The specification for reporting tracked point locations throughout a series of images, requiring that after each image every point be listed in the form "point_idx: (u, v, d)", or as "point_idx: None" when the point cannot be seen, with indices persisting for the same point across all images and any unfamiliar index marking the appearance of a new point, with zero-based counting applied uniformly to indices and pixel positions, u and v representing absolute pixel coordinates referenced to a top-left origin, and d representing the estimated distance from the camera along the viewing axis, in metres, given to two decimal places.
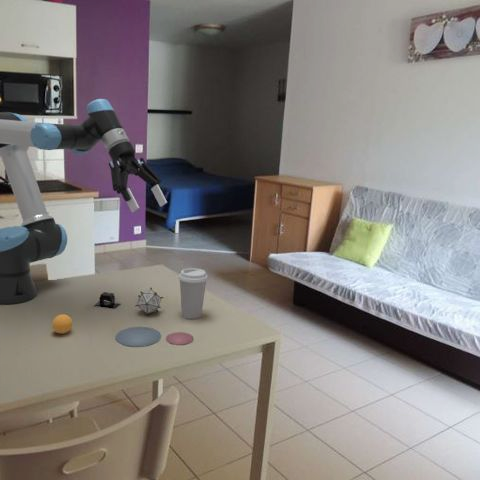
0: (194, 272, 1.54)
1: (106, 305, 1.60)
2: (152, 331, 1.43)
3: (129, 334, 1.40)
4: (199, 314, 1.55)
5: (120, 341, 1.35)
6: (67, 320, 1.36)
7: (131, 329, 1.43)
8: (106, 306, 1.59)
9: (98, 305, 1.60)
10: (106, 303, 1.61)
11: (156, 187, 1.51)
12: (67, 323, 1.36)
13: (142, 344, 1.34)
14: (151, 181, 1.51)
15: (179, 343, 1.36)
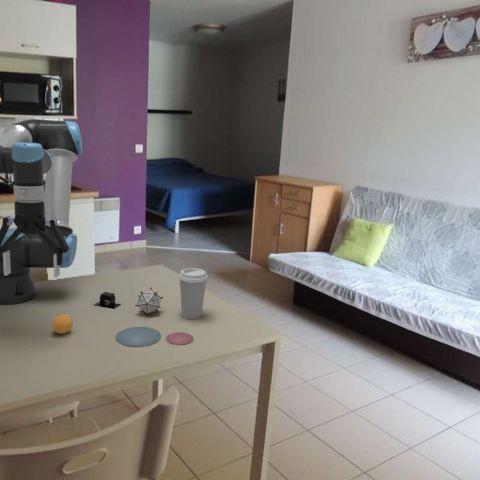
0: (194, 272, 1.54)
1: (106, 305, 1.60)
2: (152, 331, 1.43)
3: (129, 334, 1.40)
4: (199, 314, 1.55)
5: (120, 341, 1.35)
6: (67, 320, 1.36)
7: (131, 329, 1.43)
8: (106, 306, 1.59)
9: (98, 304, 1.60)
10: (106, 303, 1.61)
11: None
12: (67, 323, 1.36)
13: (142, 344, 1.34)
14: None
15: (179, 343, 1.36)
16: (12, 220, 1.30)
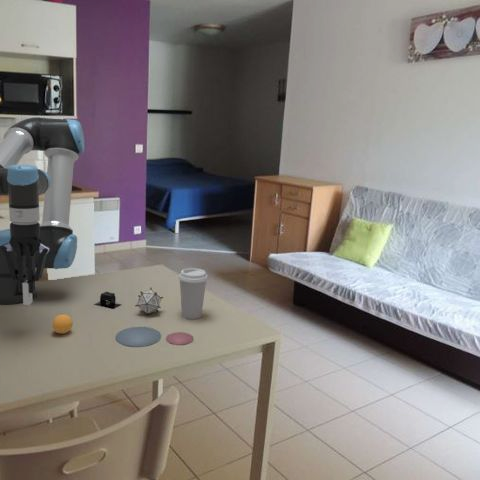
0: (194, 272, 1.54)
1: (106, 305, 1.60)
2: (152, 331, 1.43)
3: (129, 334, 1.40)
4: (199, 314, 1.55)
5: (120, 341, 1.35)
6: (67, 320, 1.36)
7: (131, 329, 1.43)
8: (106, 306, 1.60)
9: (99, 304, 1.61)
10: (107, 303, 1.61)
11: None
12: (67, 323, 1.36)
13: (142, 344, 1.34)
14: None
15: (179, 343, 1.36)
16: (9, 245, 1.31)
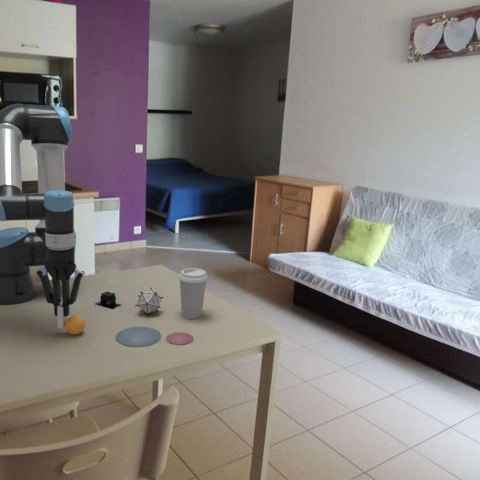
0: (194, 272, 1.54)
1: (106, 304, 1.60)
2: (152, 331, 1.43)
3: (129, 334, 1.40)
4: (199, 314, 1.55)
5: (120, 341, 1.35)
6: (81, 330, 1.37)
7: (131, 329, 1.43)
8: (105, 305, 1.60)
9: (99, 304, 1.61)
10: (107, 302, 1.61)
11: None
12: (79, 332, 1.37)
13: (142, 344, 1.34)
14: None
15: (179, 343, 1.36)
16: (44, 269, 1.33)
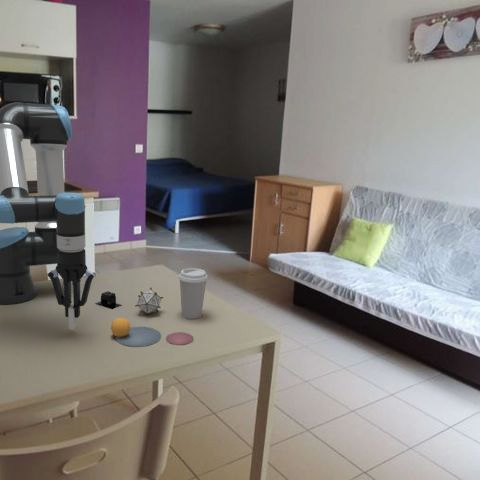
0: (194, 272, 1.54)
1: (106, 304, 1.60)
2: (152, 331, 1.43)
3: (129, 334, 1.40)
4: (199, 314, 1.55)
5: (120, 341, 1.35)
6: (123, 322, 1.37)
7: (131, 329, 1.43)
8: (105, 305, 1.60)
9: (99, 303, 1.61)
10: (107, 302, 1.62)
11: None
12: (125, 324, 1.36)
13: (142, 344, 1.34)
14: None
15: (179, 343, 1.36)
16: (55, 271, 1.34)
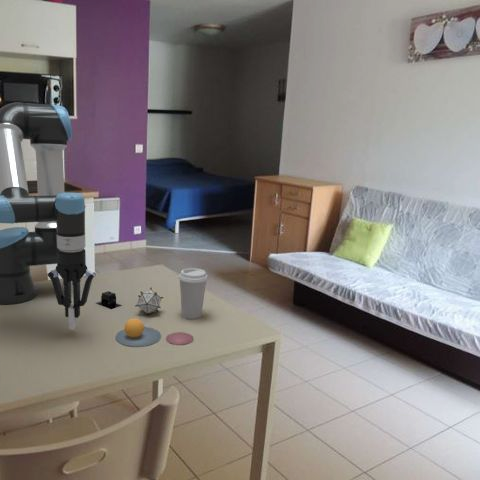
0: (194, 272, 1.54)
1: (106, 304, 1.60)
2: (152, 331, 1.43)
3: None
4: (199, 314, 1.55)
5: (120, 341, 1.35)
6: (141, 332, 1.37)
7: None
8: (105, 305, 1.60)
9: (100, 303, 1.62)
10: (107, 302, 1.62)
11: None
12: (139, 335, 1.37)
13: (142, 344, 1.34)
14: None
15: (179, 343, 1.36)
16: (55, 271, 1.34)
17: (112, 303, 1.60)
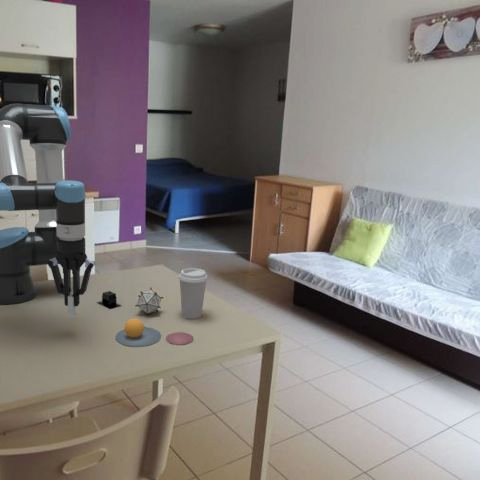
0: (194, 272, 1.54)
1: (106, 304, 1.61)
2: (152, 331, 1.43)
3: None
4: (199, 314, 1.55)
5: (120, 341, 1.35)
6: (141, 332, 1.37)
7: None
8: (105, 305, 1.60)
9: (100, 303, 1.62)
10: (108, 302, 1.62)
11: None
12: (139, 335, 1.37)
13: (142, 344, 1.34)
14: None
15: (179, 343, 1.36)
16: (55, 259, 1.33)
17: (112, 303, 1.60)
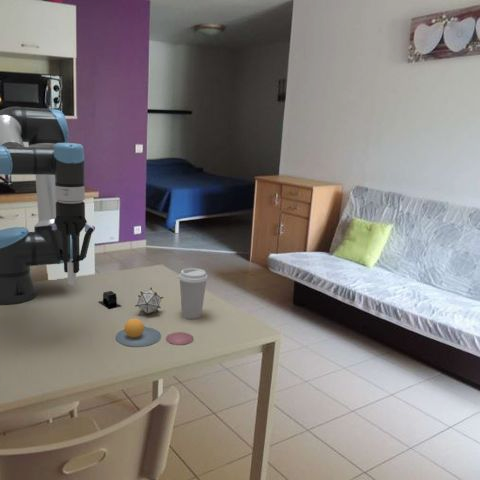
0: (194, 272, 1.54)
1: (106, 304, 1.61)
2: (152, 331, 1.43)
3: None
4: (199, 314, 1.55)
5: (120, 341, 1.35)
6: (141, 332, 1.37)
7: None
8: (105, 305, 1.60)
9: (101, 302, 1.62)
10: (109, 302, 1.62)
11: None
12: (139, 335, 1.37)
13: (142, 344, 1.34)
14: None
15: (179, 343, 1.36)
16: (54, 224, 1.30)
17: (112, 303, 1.60)
